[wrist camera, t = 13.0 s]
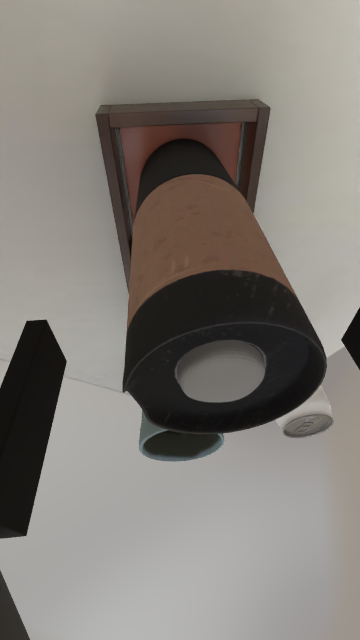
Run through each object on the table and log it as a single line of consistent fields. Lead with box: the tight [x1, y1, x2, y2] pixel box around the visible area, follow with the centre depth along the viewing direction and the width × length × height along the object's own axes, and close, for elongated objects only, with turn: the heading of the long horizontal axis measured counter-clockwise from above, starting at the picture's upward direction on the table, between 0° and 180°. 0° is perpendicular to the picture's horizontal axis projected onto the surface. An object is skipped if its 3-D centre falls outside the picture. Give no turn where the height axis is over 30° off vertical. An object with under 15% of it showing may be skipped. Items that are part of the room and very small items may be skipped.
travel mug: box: [123, 139, 327, 434], centre depth 18 cm, size 8×8×20 cm
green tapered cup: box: [139, 411, 224, 461], centre depth 39 cm, size 10×10×12 cm
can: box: [276, 385, 333, 438], centre depth 38 cm, size 6×6×12 cm
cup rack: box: [96, 99, 270, 292], centre depth 28 cm, size 11×22×3 cm, turn 1°
